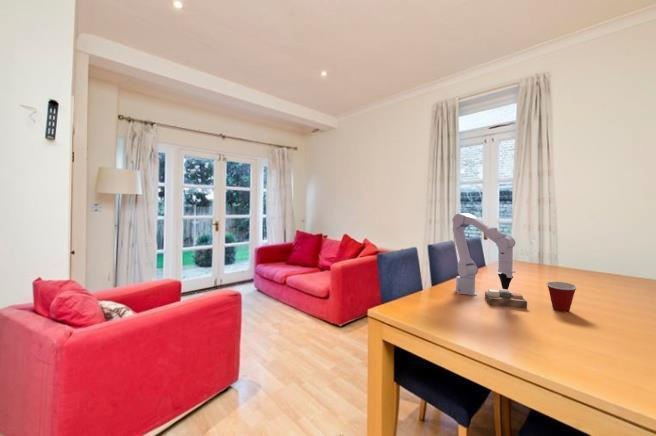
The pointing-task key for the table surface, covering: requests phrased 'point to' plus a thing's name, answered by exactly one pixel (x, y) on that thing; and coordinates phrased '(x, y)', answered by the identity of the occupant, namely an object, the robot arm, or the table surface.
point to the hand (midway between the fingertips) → (505, 289)
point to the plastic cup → (561, 295)
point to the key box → (506, 302)
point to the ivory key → (493, 293)
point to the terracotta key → (516, 295)
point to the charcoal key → (505, 294)
